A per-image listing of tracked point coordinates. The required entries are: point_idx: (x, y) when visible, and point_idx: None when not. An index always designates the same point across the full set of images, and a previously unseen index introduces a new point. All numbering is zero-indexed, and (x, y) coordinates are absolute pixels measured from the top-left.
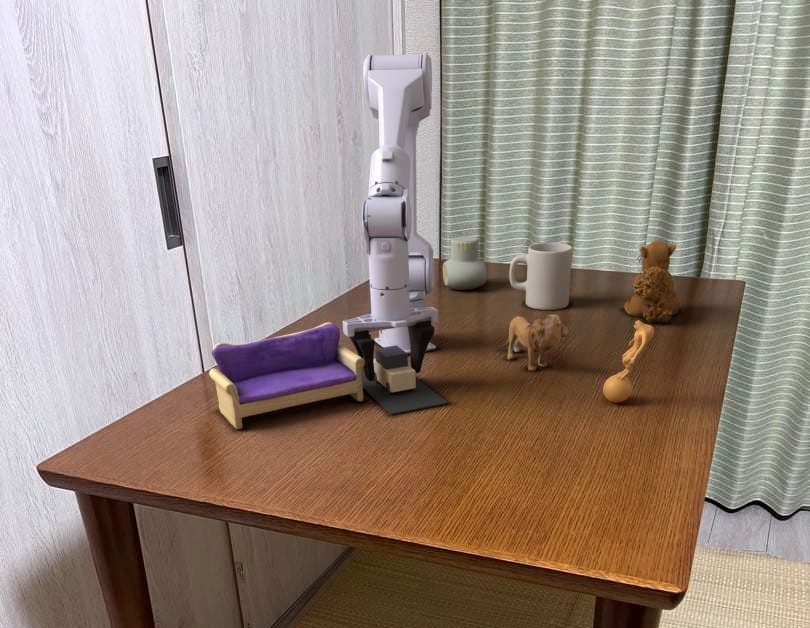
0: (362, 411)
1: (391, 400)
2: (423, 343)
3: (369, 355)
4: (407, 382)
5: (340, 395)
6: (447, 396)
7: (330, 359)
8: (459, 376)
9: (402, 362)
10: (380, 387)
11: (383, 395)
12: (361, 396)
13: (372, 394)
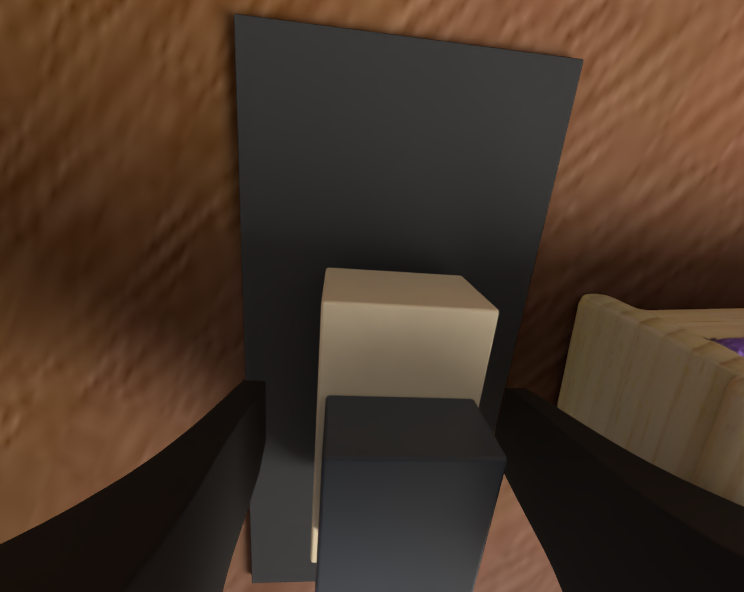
0: (642, 198)
1: (484, 224)
2: (141, 507)
3: (663, 484)
4: (376, 282)
5: (729, 309)
6: (189, 139)
7: None
8: (27, 355)
9: (367, 413)
10: None
11: None
12: (603, 300)
13: (511, 335)
